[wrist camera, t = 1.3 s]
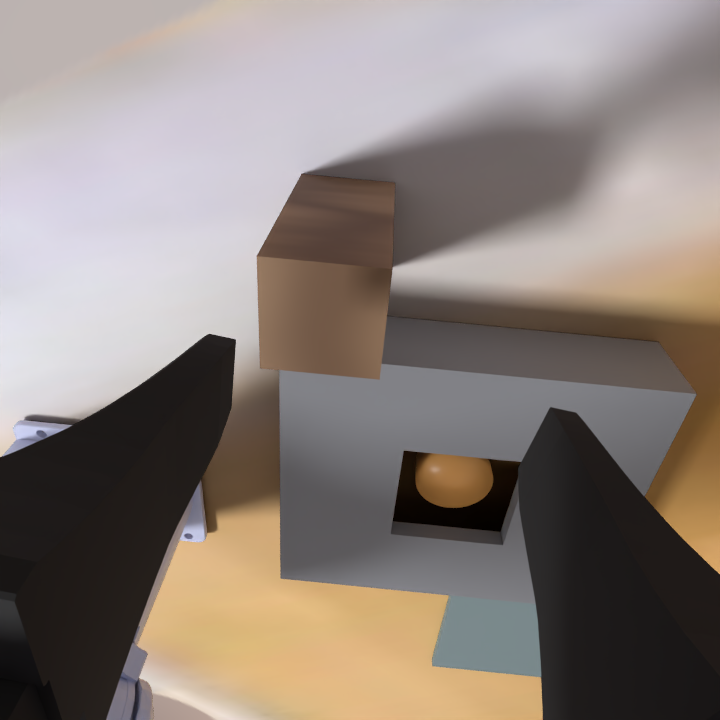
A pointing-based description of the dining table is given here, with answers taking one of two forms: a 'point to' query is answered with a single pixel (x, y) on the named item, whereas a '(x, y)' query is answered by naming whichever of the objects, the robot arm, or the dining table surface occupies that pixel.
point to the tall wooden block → (327, 278)
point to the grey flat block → (453, 446)
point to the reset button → (452, 479)
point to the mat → (489, 637)
